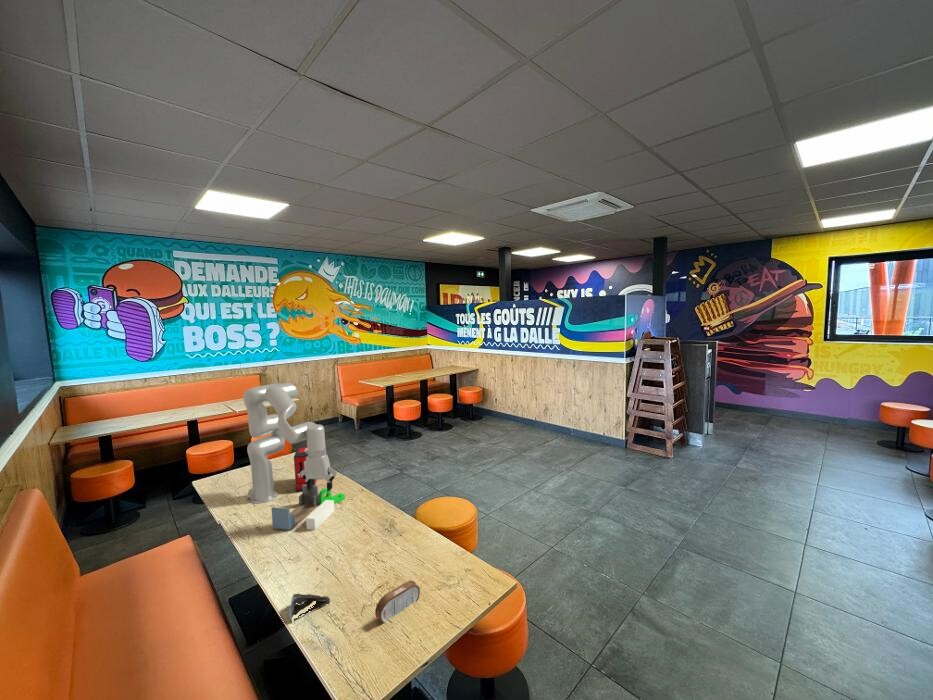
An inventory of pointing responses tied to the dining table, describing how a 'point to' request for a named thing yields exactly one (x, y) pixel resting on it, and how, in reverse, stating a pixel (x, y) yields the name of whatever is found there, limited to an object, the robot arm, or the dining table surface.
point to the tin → (397, 600)
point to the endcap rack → (305, 504)
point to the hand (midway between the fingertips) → (319, 489)
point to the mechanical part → (336, 498)
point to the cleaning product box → (300, 467)
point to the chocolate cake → (302, 598)
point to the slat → (320, 515)
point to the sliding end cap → (282, 518)
